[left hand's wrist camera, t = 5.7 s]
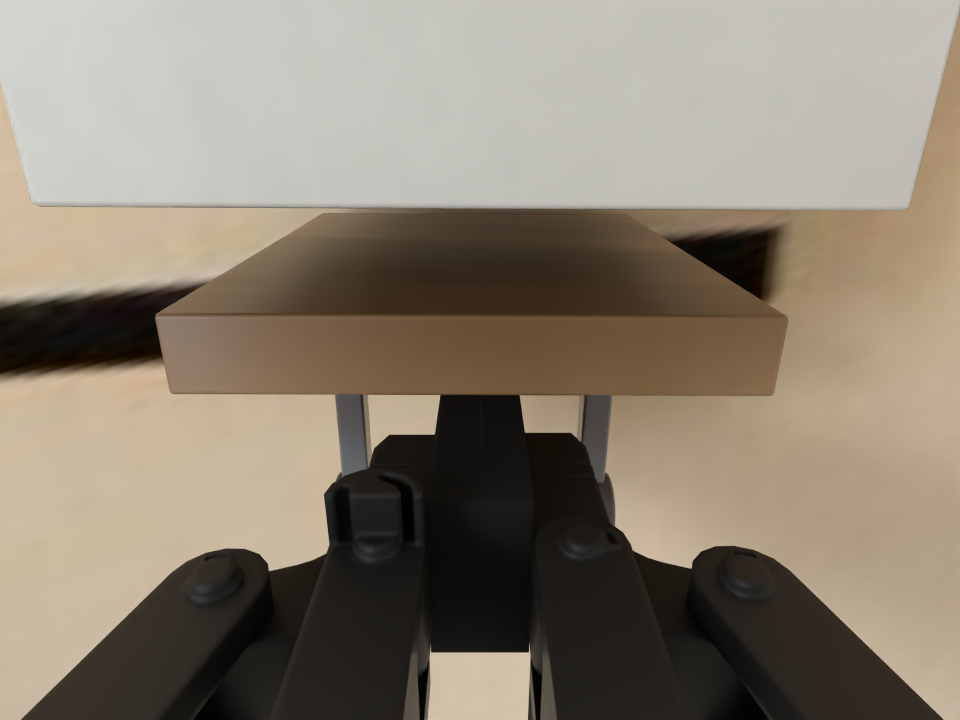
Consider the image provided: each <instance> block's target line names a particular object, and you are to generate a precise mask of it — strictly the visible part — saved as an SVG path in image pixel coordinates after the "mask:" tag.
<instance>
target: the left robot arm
mask: <svg viewBox="0 0 960 720" xmlns="http://www.w3.org/2000/svg"><path fill="white" fill-rule="evenodd" d="M324 498H325V507H326V516H327V525H328V534H329V543H330V545H329V548H328V551H327V554H325V555H323V556H321V557H319V558H317V559H314V560H312V561H309V562H306V563H302V564H299V565H295V566H291V567H286V568H282V569H278V570H273V571H269V569H268V564H267V562H266V561H265V560H264V559H263V558H262V557H261V556H260V554H257V553H254V552H252V551H249V550H246V549H222V550H217V551H213V552H208V553H205V554H203V555H200V556H198V557H196V558H194V559H191V560H189V561H187V562H186V563H184V564H183V565H182V566H180V567H179V568H177V569H176V570H175V571H173V572H172V573H171V574H170V575H169V576H168V577H167V578H166V579H165V580H164V581H163V582H162V583H161V584H159V585H158V586H157V587H156V588H155V589H154V590H153V591H152V592H151V593H150V594H149V595H148V596H147V597H146V598H145V599H144V600H143V601H142V602H141V603H140V604H139V605H138V606H137V607H136V608H135V609H134V610H133V611H132V612H131V613H130V614H129V615H128V616H127V617H126V618H125V619H124V620H123V621H122V622H121V623H120V624H119V625H118V626H116V627H115V628H114V629H113V630H112V631H111V632H110V633H109V634H108V635H107V636H106V637H105V638H104V639H103V640H102V641H101V642H100V643H99V644H98V645H97V646H96V647H95V648H94V649H93V650H92V651H91V652H90V653H89V654H88V655H87V656H86V657H85V658H84V659H83V660H82V661H81V662H80V663H79V664H78V665H77V666H76V667H74V668H73V669H72V670H71V671H70V672H69V673H68V674H67V675H66V676H65V677H64V678H63V679H62V680H61V681H60V682H59V683H58V684H57V685H56V686H55V687H54V688H53V689H52V690H51V691H50V692H49V693H48V694H47V695H46V696H45V697H44V698H43V699H42V700H41V701H40V702H39V703H38V704H37V705H36V706H35V707H34V708H33V709H31V710H30V711H29V712H28V713H27V714H26V715H25V716H24V717H23V718H22V719H21V720H427V718H428V706H429V694H430V661H429V657H430V646H431V652H529V643H530V653H531V661H530V686H529V710H528V720H943V719H942V718H941V717H940V716H939V715H938V714H937V713H936V712H935V711H934V710H933V709H932V708H931V707H930V706H929V705H928V704H927V703H926V702H925V701H924V700H923V699H922V698H921V697H920V696H919V695H918V694H917V693H915V692H914V691H913V690H912V689H911V688H910V687H909V686H908V685H907V684H906V683H905V682H904V681H903V680H902V679H901V678H900V677H899V676H898V675H897V674H896V673H895V672H894V671H893V670H892V669H891V668H890V667H889V666H888V665H887V664H886V663H885V662H884V661H882V660H881V659H880V658H879V657H878V656H877V655H876V654H875V653H874V652H873V651H872V650H871V649H870V648H869V647H868V646H867V645H866V644H865V643H864V642H863V641H862V640H861V639H860V638H859V637H858V636H857V635H856V634H855V633H854V632H853V631H852V630H850V629H849V628H848V627H847V626H846V625H845V624H844V623H843V622H842V621H841V620H840V619H839V618H838V617H837V616H836V615H835V614H834V613H833V612H832V611H831V610H830V609H829V608H828V607H827V606H826V605H825V604H824V603H823V602H822V601H821V600H820V599H819V598H817V597H816V596H815V595H814V594H813V593H812V592H811V591H810V590H809V589H808V588H807V587H806V586H805V585H804V584H803V583H802V582H801V581H800V580H799V579H798V578H797V577H796V576H795V575H794V574H793V573H792V572H791V571H790V570H788V569H787V568H785V567H784V566H783V565H781V564H780V563H779V562H777V561H776V560H775V559H773V558H771V557H768V556H766V555H764V554H762V553H759V552H757V551H755V550H751V549H746V548H741V547H737V546H715V547H713V548H710V549H707V550H704V551H702V552H700V554H699V555H698V556H697V557H696V558H695V559H694V560H693V563H692V569H689V568H685V567H680V566H676V565H671V564H667V563H663V562H659V561H656V560H653V559H649V558H647V557H645V556H643V555H640V554H638V553H636V552H634V551H633V550H632V547H631V544H630V543H629V541H628V540H627V538H626V537H625V535H624V533H623V532H622V531H620V530H619V529H617V528H616V527H615V526H613V525H612V524H611V523H610V520H609V517H608V514H607V511H606V508H605V505H604V502H603V498H602V495H601V492H600V489H599V486H598V483H597V480H596V478H595V473H594V470H593V467H592V465H591V461H590V458H589V455H588V452H587V449H586V446H585V445H584V444H583V443H581V442H580V441H579V440H578V439H577V438H576V437H575V436H574V435H573V434H571V433H525V431H524V424H523V417H522V410H521V403H520V396H519V395H441V396H440V403H439V410H438V417H437V424H436V431H435V435H389V436H388V437H386V438H385V439H384V440H383V441H382V442H381V443H380V444H379V445H378V446H376V447H375V448H374V451H373V454H372V457H371V461H370V464H369V467H368V469H365V470H360V471H357V472H354V473H351V474H348V475H345V476H344V477H342V478H340V479H339V480H337V481H336V482H334V483H332V484H331V486H330V487H329V488H328V490H327V491H326V492H325V494H324Z"/></svg>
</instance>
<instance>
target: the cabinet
mask: <svg viewBox="0 0 960 720" xmlns="http://www.w3.org/2000/svg"><path fill="white" fill-rule="evenodd" d="M959 12H960V0H0V82H1V86H2V90H3V94H4V98H5V102H6V106H7V109H8V113H9V117H10V121H11V125H12V129H13V133H14V137H15V141H16V144H17V148H18V152H19V156H20V160H21V164H22V168H23V172H24V176H25V180H26V183H27V187H28V191H29V195H30V199H31V201H32V203H33V204H34V205H37V206H40V207H197V208H395V209H593V210H792V211H902V210H905V209H907V208H908V207H909V205H910V203H911V199H912V195H913V191H914V187H915V183H916V179H917V175H918V171H919V168H920V164H921V160H922V156H923V152H924V148H925V144H926V140H927V136H928V133H929V129H930V125H931V121H932V117H933V113H934V109H935V105H936V101H937V97H938V94H939V90H940V86H941V82H942V78H943V74H944V70H945V66H946V62H947V59H948V55H949V51H950V47H951V43H952V39H953V35H954V31H955V27H956V23H957V20H958V16H959Z"/></svg>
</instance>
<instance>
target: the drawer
mask: <svg viewBox="0 0 960 720" xmlns="http://www.w3.org/2000/svg"><path fill="white" fill-rule="evenodd" d="M155 319H156V324H157V329H158V334H159V339H160V344H161V349H162V354H163V359H164V365H165V370H166V375H167V380H168V385H169V390H170V392H171V393H172V394H335V400H336V411H337V422H338V433H339V445H340V456H341V467H342V472H340V473H339V475H338V477H337V479H336V481H337V480H339V479H340V478H342V477H344V476H345V475H348V474H351V473H354V472H357V471H360V470H365V469H368V467H369V464H370V461H371V457H372V454H371V439H370V424H369V410H368V395H580V405H579V418H578V432H577V439H578V440H579V441H580V442H581V443H583V444H584V445H585V446H586V449H587V452H588V455H589V458H590V461H591V465H592V467H593V470H594V473H595V478H596V480H597V483H598V486H599V489H600V492H601V495H602V498H603V502H604V505H605V508H606V511H607V514H608V517H609V520H610V523H611V524H612V525H613V526H615V500H614V492H613V487H612V483H611V480H610V477H609V475H608V474H607V473H605V468H606V457H607V446H608V436H609V425H610V414H611V403H612V395H650V396H771V395H773V393H774V389H775V384H776V379H777V374H778V369H779V364H780V359H781V354H782V349H783V344H784V339H785V334H786V329H787V324H788V318H787V316H785V315H784V314H782V313H781V312H779V311H777V310H776V309H774V308H773V307H771V306H770V305H768V304H766V303H765V302H763V301H762V300H760V299H758V298H757V297H755V296H754V295H752V294H751V293H749V292H747V291H746V290H744V289H743V288H741V287H740V286H738V285H736V284H735V283H733V282H732V281H730V280H729V279H727V278H725V277H724V276H722V275H721V274H719V273H717V272H716V271H714V270H713V269H711V268H710V267H708V266H706V265H705V264H703V263H702V262H700V261H699V260H697V259H695V258H694V257H692V256H691V255H689V254H687V253H686V252H684V251H683V250H681V249H680V248H678V247H676V246H675V245H673V244H672V243H670V242H669V241H667V240H665V239H664V238H662V237H661V236H659V235H658V234H656V233H654V232H653V231H651V230H650V229H648V228H646V227H645V226H643V225H642V224H640V223H639V222H637V221H635V220H634V219H632V218H631V217H629V216H628V215H580V214H380V213H323V214H321V215H320V216H318V217H316V218H315V219H313V220H311V221H310V222H308V223H306V224H305V225H303V226H301V227H300V228H298V229H296V230H295V231H293V232H291V233H290V234H288V235H287V236H285V237H283V238H282V239H280V240H278V241H277V242H275V243H273V244H272V245H270V246H268V247H267V248H265V249H263V250H262V251H260V252H258V253H257V254H255V255H253V256H252V257H250V258H248V259H247V260H245V261H243V262H242V263H240V264H238V265H237V266H235V267H234V268H232V269H230V270H229V271H227V272H225V273H224V274H222V275H220V276H219V277H217V278H215V279H214V280H212V281H210V282H209V283H207V284H205V285H204V286H202V287H200V288H199V289H197V290H195V291H194V292H192V293H190V294H189V295H187V296H186V297H184V298H182V299H181V300H179V301H177V302H176V303H174V304H172V305H171V306H169V307H167V308H166V309H164V310H162V311H161V312H159V313H157V314H156V318H155Z"/></svg>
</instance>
